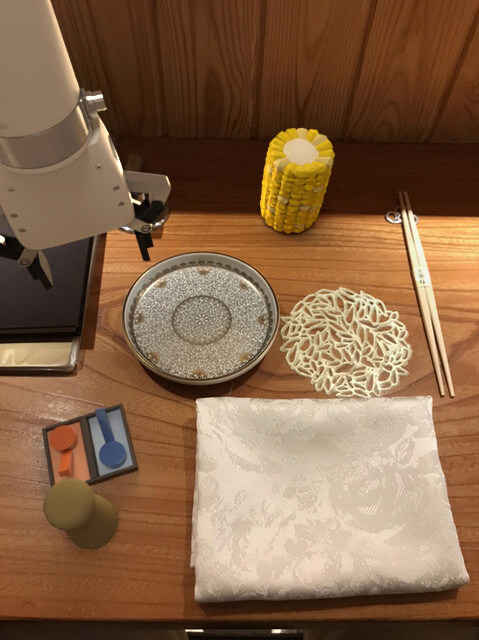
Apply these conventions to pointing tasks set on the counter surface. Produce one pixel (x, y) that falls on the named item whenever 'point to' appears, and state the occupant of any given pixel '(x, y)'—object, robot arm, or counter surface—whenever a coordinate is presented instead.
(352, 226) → the counter surface
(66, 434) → the terracotta spoon
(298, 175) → the food
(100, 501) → the olive waisted cylinder
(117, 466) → the blue spoon
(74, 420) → the sorting tray
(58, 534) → the counter surface
